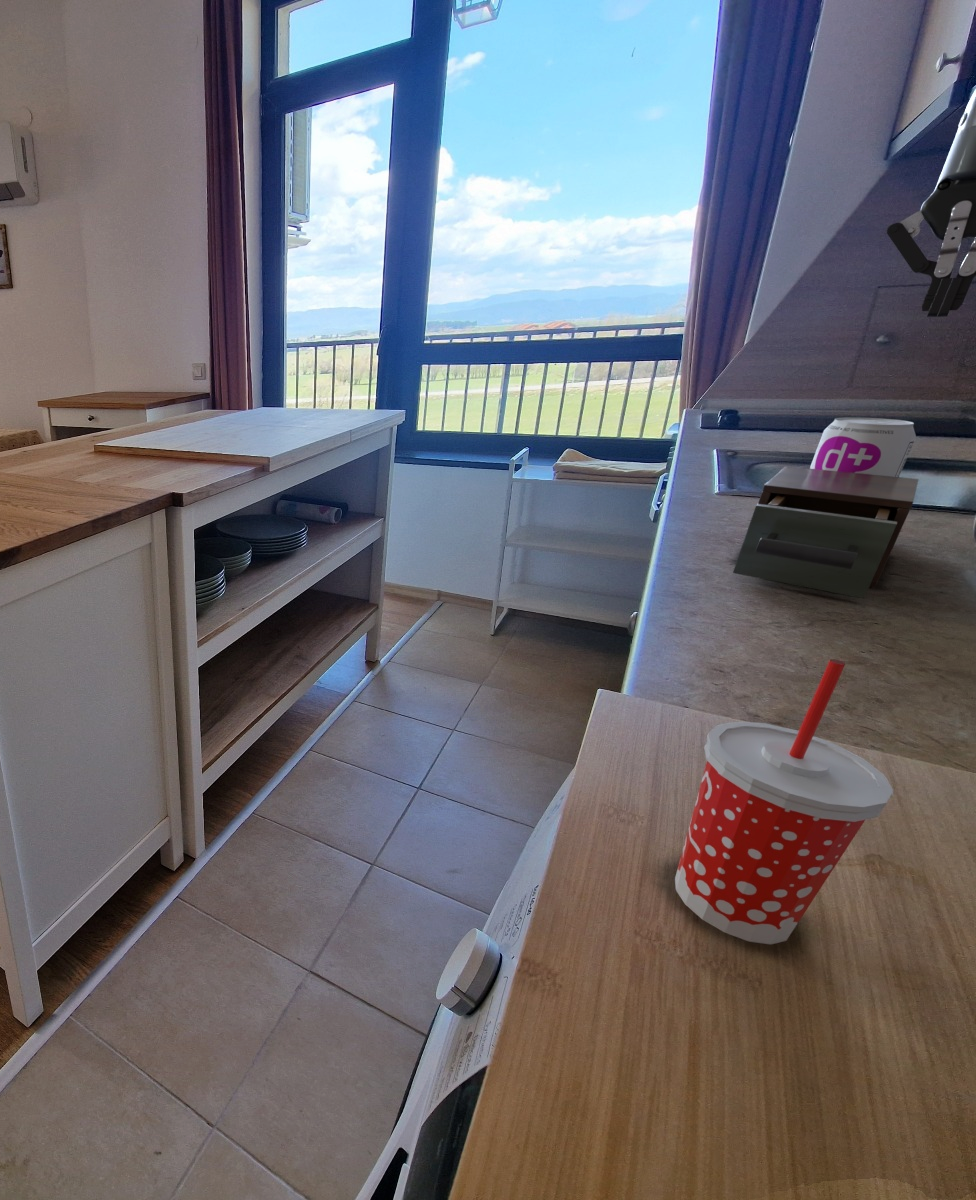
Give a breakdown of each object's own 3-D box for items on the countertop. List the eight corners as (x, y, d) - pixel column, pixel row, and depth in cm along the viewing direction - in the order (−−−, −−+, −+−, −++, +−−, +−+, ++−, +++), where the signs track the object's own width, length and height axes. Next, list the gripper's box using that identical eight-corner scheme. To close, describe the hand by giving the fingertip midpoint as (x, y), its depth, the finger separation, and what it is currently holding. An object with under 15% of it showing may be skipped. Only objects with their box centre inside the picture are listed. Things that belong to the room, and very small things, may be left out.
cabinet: (874, 588, 68) (913, 501, 64) (737, 563, 76) (764, 484, 72) (884, 556, 76) (918, 478, 73) (760, 537, 84) (785, 466, 81)
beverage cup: (702, 844, 35) (790, 620, 30) (842, 931, 30) (980, 679, 25) (629, 879, 33) (710, 646, 28) (766, 979, 28) (899, 716, 23)
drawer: (858, 615, 60) (893, 537, 57) (720, 586, 67) (744, 516, 64) (874, 565, 71) (904, 499, 68) (755, 546, 79) (777, 484, 75)
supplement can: (843, 547, 80) (893, 427, 74) (771, 529, 87) (811, 419, 81) (887, 540, 82) (939, 423, 76) (813, 524, 89) (855, 415, 83)
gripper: (1129, 108, 58) (1033, 314, 65) (917, 142, 67) (852, 318, 74) (1144, 91, 53) (1039, 314, 60) (914, 130, 63) (846, 319, 69)
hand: (936, 316), depth 67 cm, fingers closed
